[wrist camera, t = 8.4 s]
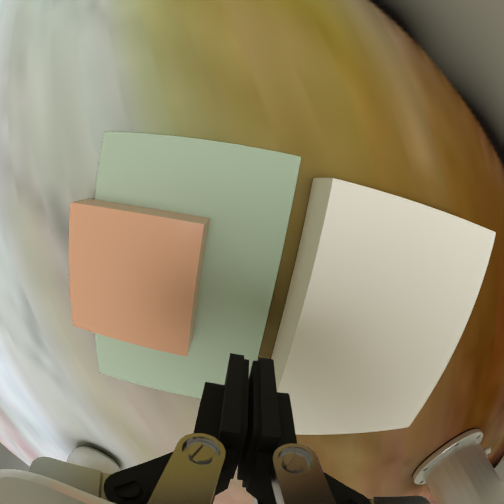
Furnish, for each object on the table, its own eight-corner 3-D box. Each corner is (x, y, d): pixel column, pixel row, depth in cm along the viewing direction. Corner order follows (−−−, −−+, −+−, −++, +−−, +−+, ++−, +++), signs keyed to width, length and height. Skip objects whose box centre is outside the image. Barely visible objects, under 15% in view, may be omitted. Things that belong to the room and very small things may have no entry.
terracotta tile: (70, 202, 13) (89, 198, 16) (72, 325, 15) (87, 311, 18) (204, 224, 14) (210, 218, 16) (187, 356, 16) (193, 337, 18)
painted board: (460, 221, 17) (495, 232, 13) (391, 397, 21) (408, 427, 17) (313, 177, 16) (333, 178, 12) (260, 394, 20) (262, 432, 16)
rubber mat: (299, 157, 16) (301, 156, 15) (245, 401, 20) (245, 405, 20) (107, 132, 15) (104, 131, 14) (101, 370, 19) (99, 372, 19)
